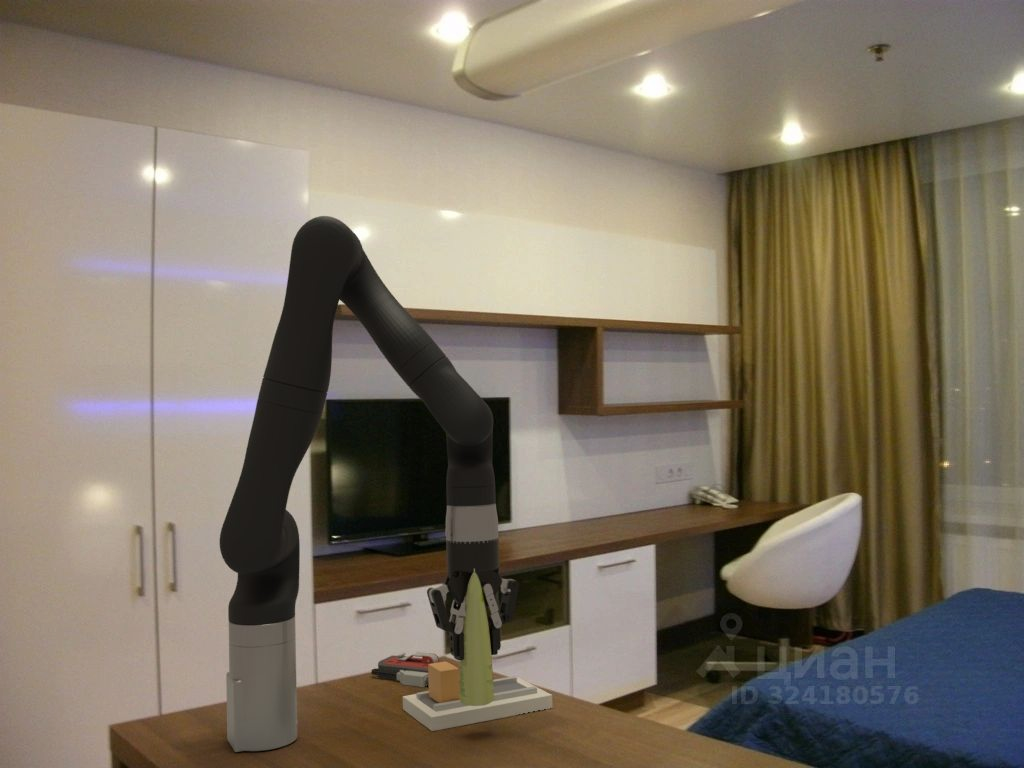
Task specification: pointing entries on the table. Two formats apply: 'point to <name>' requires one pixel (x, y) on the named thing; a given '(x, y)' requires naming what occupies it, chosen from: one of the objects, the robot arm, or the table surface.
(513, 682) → the switch board
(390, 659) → the walkie-talkie
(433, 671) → the switch tab
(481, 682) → the tube
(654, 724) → the table surface
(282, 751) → the table surface
